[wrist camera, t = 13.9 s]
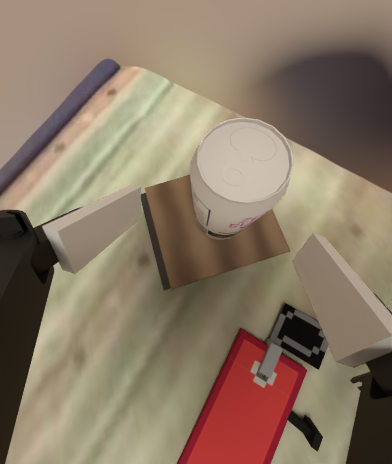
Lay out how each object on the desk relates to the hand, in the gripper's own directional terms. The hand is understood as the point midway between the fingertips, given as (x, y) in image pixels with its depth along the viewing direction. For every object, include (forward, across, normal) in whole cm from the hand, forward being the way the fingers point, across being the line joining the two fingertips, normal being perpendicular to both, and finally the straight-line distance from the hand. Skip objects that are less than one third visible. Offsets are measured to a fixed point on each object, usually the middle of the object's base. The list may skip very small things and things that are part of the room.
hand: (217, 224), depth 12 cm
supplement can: (+13, 0, -6) cm, 15 cm away
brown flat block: (+16, 0, -9) cm, 18 cm away
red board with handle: (-2, +15, -28) cm, 32 cm away
